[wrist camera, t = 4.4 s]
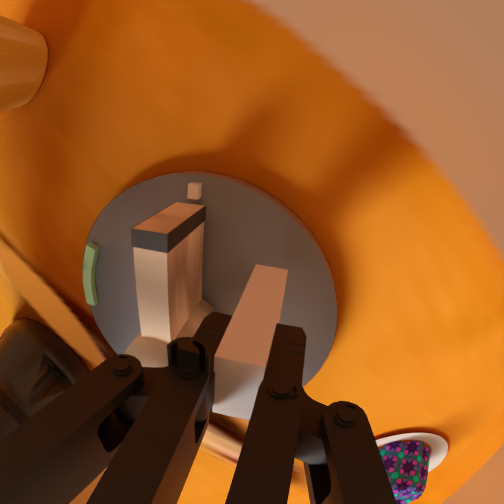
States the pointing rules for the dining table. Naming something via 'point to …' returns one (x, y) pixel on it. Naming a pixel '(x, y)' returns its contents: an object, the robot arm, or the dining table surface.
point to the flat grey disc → (213, 257)
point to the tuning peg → (168, 280)
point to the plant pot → (20, 64)
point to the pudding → (411, 462)
